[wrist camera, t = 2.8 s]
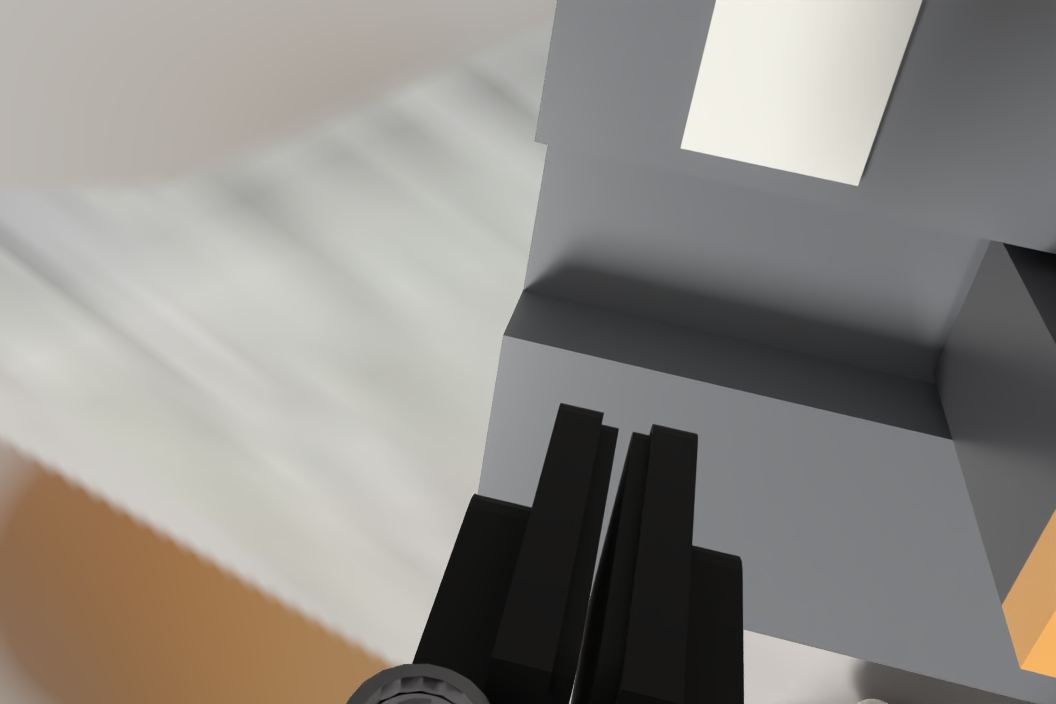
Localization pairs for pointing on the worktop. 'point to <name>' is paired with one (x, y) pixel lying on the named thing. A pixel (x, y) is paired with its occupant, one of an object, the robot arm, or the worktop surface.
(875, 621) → the breaker panel
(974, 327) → the block
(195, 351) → the worktop surface
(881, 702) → the cable organizer
